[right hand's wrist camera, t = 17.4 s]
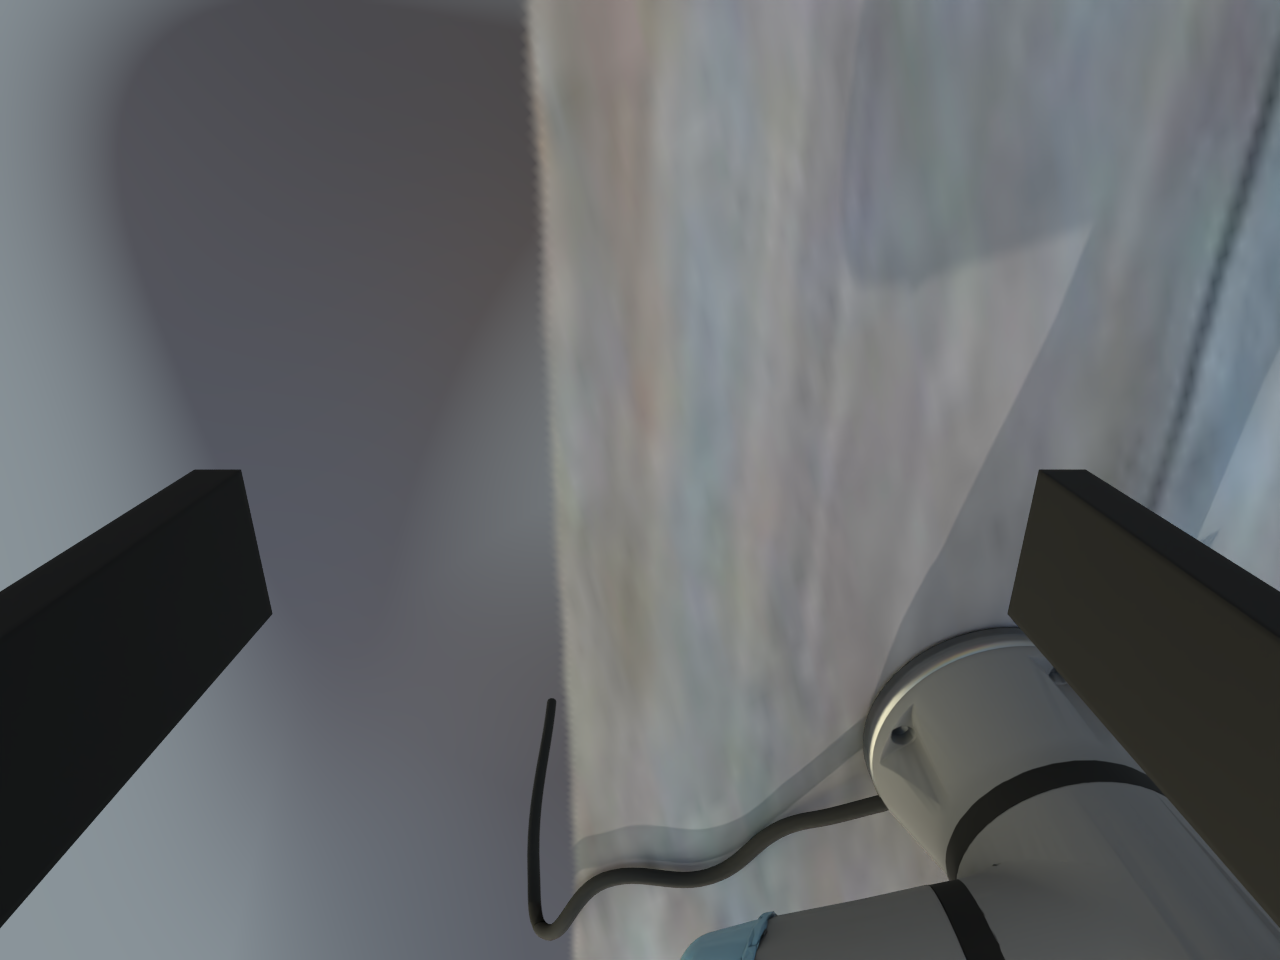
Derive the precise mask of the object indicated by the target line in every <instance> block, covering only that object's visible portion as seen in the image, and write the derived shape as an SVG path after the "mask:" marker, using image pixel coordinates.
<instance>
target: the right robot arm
mask: <svg viewBox="0 0 1280 960" xmlns="http://www.w3.org/2000/svg"><path fill="white" fill-rule="evenodd" d="M271 615H272V610H271V605H270V601H269V596H268V591H267V587H266V582H265V578H264V573H263V568H262V564H261V559H260V555H259V550H258V545H257V541H256V536H255V532H254V527H253V523H252V518H251V513H250V509H249V504H248V500H247V495H246V490H245V486H244V481H243V477H242V472H241V470H193V471H192V472H190V473H188V474H187V475H185V476H184V477H182V478H181V479H179V480H177V481H176V482H174V483H173V484H171V485H169V486H168V487H166V488H164V489H163V490H161V491H160V492H158V493H157V494H155V495H153V496H152V497H150V498H149V499H147V500H145V501H144V502H142V503H141V504H139V505H137V506H136V507H134V508H133V509H131V510H130V511H128V512H126V513H125V514H123V515H122V516H120V517H118V518H117V519H115V520H114V521H112V522H110V523H109V524H107V525H106V526H104V527H102V528H101V529H99V530H98V531H96V532H95V533H93V534H91V535H90V536H88V537H87V538H85V539H83V540H82V541H80V542H79V543H77V544H75V545H74V546H72V547H71V548H69V549H68V550H66V551H64V552H63V553H61V554H60V555H58V556H56V557H55V558H53V559H52V560H50V561H48V562H47V563H45V564H44V565H42V566H40V567H39V568H37V569H36V570H34V571H32V572H31V573H29V574H28V575H26V576H25V577H23V578H21V579H20V580H18V581H17V582H15V583H13V584H12V585H10V586H9V587H7V588H6V589H4V590H2V591H1V592H0V928H1V927H2V925H3V924H4V923H5V922H6V921H7V920H8V919H9V917H10V916H11V915H12V914H13V913H14V912H15V910H16V909H17V908H18V907H19V906H20V905H21V904H22V902H23V901H24V900H25V899H26V898H27V897H28V895H29V894H30V893H31V892H32V891H33V890H34V889H35V887H36V886H37V885H38V884H39V883H40V882H41V880H42V879H43V878H44V877H45V876H46V875H47V874H48V872H49V871H50V870H51V869H52V868H53V867H54V865H55V864H56V863H57V862H58V861H59V860H60V859H61V857H62V856H63V855H64V854H65V853H66V852H67V850H68V849H69V848H70V847H71V846H72V845H73V844H74V842H75V841H76V840H77V839H78V838H79V837H80V835H81V834H82V833H83V832H84V831H85V830H86V829H87V827H88V826H89V825H90V824H91V823H92V822H93V820H94V819H95V818H96V817H97V816H98V815H99V814H100V812H101V811H102V810H103V809H104V808H105V807H106V805H107V804H108V803H109V802H110V801H111V800H112V798H113V797H114V796H115V795H116V794H117V793H118V792H119V790H120V789H121V788H122V787H123V786H124V785H125V783H126V782H127V781H128V780H129V779H130V778H131V777H132V775H133V774H134V773H135V772H136V771H137V770H138V768H139V767H140V766H141V765H142V764H143V763H144V762H145V760H146V759H147V758H148V757H149V756H150V755H151V753H152V752H153V751H154V750H155V749H156V748H157V746H158V745H159V744H160V743H161V742H162V741H163V740H164V738H165V737H166V736H167V735H168V734H169V733H170V732H171V730H172V729H173V728H174V727H175V726H176V725H177V723H178V722H179V721H180V720H181V719H182V718H183V717H184V715H185V714H186V713H187V712H188V711H189V710H190V708H191V707H192V706H193V705H194V704H195V703H196V702H197V700H198V699H199V698H200V697H201V696H202V695H203V693H204V692H205V691H206V690H207V689H208V688H209V687H210V685H211V684H212V683H213V682H214V681H215V680H216V678H217V677H218V676H219V675H220V674H221V673H222V672H223V670H224V669H225V668H226V667H227V666H228V665H229V663H230V662H231V661H232V660H233V659H234V658H235V656H236V655H237V654H238V653H239V652H240V651H241V650H242V648H243V647H244V646H245V645H246V644H247V643H248V641H249V640H250V639H251V638H252V637H253V636H254V635H255V633H256V632H257V631H258V630H259V629H260V628H261V627H262V625H263V624H264V623H265V622H266V621H267V620H268V618H269V617H270V616H271ZM1008 615H1009V616H1010V617H1011V618H1012V620H1013V621H1014V622H1015V623H1016V624H1017V625H1018V627H1019V628H996V629H987V630H982V631H977V632H972V633H968V634H965V635H961V636H958V637H955V638H953V639H950V640H947V641H945V642H943V643H941V644H938V645H936V646H934V647H932V648H931V649H929V650H927V651H925V652H923V653H922V654H920V655H919V656H917V657H916V658H914V659H913V660H911V661H910V662H909V663H908V664H906V665H905V666H904V667H903V668H902V669H900V670H899V671H898V672H897V673H896V674H895V675H894V676H893V677H892V678H891V679H890V681H889V682H888V683H887V684H886V685H885V686H884V688H883V689H882V691H881V692H880V693H879V695H878V696H877V698H876V700H875V701H874V703H873V705H872V707H871V710H870V712H869V714H868V717H867V720H866V724H865V729H864V735H863V752H864V758H865V762H866V765H867V768H868V771H869V773H870V776H871V778H872V781H873V784H874V786H875V789H876V791H877V793H878V795H877V796H873V797H869V798H866V799H862V800H858V801H854V802H851V803H847V804H843V805H839V806H835V807H832V808H827V809H823V810H817V811H812V812H806V813H801V814H797V815H793V816H790V817H787V818H784V819H782V820H779V821H777V822H775V823H773V824H771V825H770V826H768V827H766V828H765V829H763V830H762V831H760V832H759V833H758V834H757V835H755V836H754V837H753V838H752V839H751V840H750V841H748V842H747V843H746V844H745V845H744V846H743V847H742V848H741V849H740V850H738V851H737V852H736V853H735V854H734V855H733V856H731V857H730V858H728V859H727V860H725V861H724V862H722V863H720V864H718V865H716V866H713V867H711V868H708V869H704V870H700V871H692V872H674V871H664V870H656V869H647V868H620V869H614V870H610V871H607V872H603V873H601V874H599V875H597V876H595V877H593V878H591V879H590V880H589V881H587V882H586V883H585V884H584V885H583V886H582V887H580V888H579V890H578V891H577V892H576V893H575V894H574V895H573V897H572V898H571V899H570V901H569V902H568V904H567V905H566V907H565V908H564V910H563V911H562V913H561V914H560V915H559V917H558V918H557V919H556V921H555V922H554V923H552V924H548V923H546V921H545V920H544V918H543V914H542V906H541V885H540V856H539V848H540V820H541V808H542V799H543V791H544V784H545V777H546V770H547V764H548V758H549V752H550V746H551V739H552V733H553V726H554V719H555V711H556V700H555V699H554V698H550V699H548V701H547V706H546V714H545V721H544V727H543V733H542V739H541V744H540V750H539V756H538V761H537V766H536V772H535V778H534V784H533V790H532V798H531V805H530V814H529V826H528V845H527V876H528V911H529V917H530V922H531V924H532V927H533V930H534V931H535V933H536V934H537V935H538V936H539V937H540V938H542V939H545V940H549V941H551V940H555V939H557V938H559V937H560V936H562V935H563V934H564V933H565V932H566V931H567V929H568V928H569V927H570V925H571V924H572V922H573V921H574V919H575V918H576V916H577V915H578V914H579V912H580V911H581V909H582V908H583V907H584V906H585V904H586V903H587V902H588V901H589V900H590V899H591V898H592V897H593V896H594V895H596V894H597V893H598V892H600V891H602V890H604V889H606V888H609V887H612V886H616V885H622V884H646V885H655V886H663V887H673V888H694V887H702V886H706V885H710V884H714V883H716V882H719V881H722V880H724V879H726V878H728V877H730V876H732V875H733V874H735V873H737V872H738V871H739V870H741V869H742V868H743V867H745V866H746V865H747V864H748V863H749V862H750V861H752V860H753V859H754V858H755V857H756V856H757V855H758V854H759V853H761V852H762V851H763V850H764V849H765V848H766V847H768V846H769V845H771V844H772V843H773V842H775V841H777V840H778V839H780V838H782V837H784V836H786V835H789V834H791V833H794V832H797V831H801V830H805V829H810V828H816V827H822V826H827V825H832V824H837V823H841V822H845V821H849V820H853V819H857V818H860V817H864V816H868V815H872V814H876V813H880V812H884V811H887V810H889V811H890V812H891V814H892V815H893V816H894V817H895V818H896V819H897V820H898V821H899V823H900V824H901V825H902V826H903V827H904V828H905V829H906V830H907V831H908V832H909V834H910V835H911V836H912V837H913V838H914V839H915V840H916V841H917V842H918V844H919V845H920V846H921V847H922V848H923V849H924V850H925V851H926V852H927V854H928V855H929V856H930V857H931V858H932V859H933V860H934V861H935V862H936V864H937V865H938V866H939V867H940V868H941V869H942V870H943V871H944V872H945V873H946V875H947V877H948V879H949V881H947V882H942V883H937V884H932V885H924V886H919V887H915V888H910V889H906V890H901V891H897V892H892V893H887V894H883V895H878V896H874V897H869V898H865V899H860V900H855V901H850V902H845V903H840V904H835V905H830V906H824V907H819V908H814V909H809V910H804V911H799V912H794V913H789V914H784V915H779V916H777V915H776V914H775V912H774V911H773V912H766V913H763V914H762V915H761V916H760V917H759V919H758V920H754V921H750V922H747V923H743V924H739V925H736V926H732V927H728V928H725V929H721V930H717V931H714V932H710V933H707V934H705V935H702V936H701V937H699V938H697V939H696V940H695V941H694V942H693V943H692V944H691V945H690V946H689V947H688V948H687V950H686V951H685V953H684V954H683V956H682V957H681V959H680V960H1280V592H1279V591H1278V590H1276V589H1275V588H1273V587H1271V586H1270V585H1268V584H1267V583H1265V582H1263V581H1262V580H1260V579H1259V578H1257V577H1255V576H1254V575H1252V574H1251V573H1249V572H1248V571H1246V570H1244V569H1243V568H1241V567H1240V566H1238V565H1236V564H1235V563H1233V562H1232V561H1230V560H1228V559H1227V558H1225V557H1224V556H1222V555H1220V554H1219V553H1217V552H1216V551H1214V550H1213V549H1211V548H1209V547H1208V546H1206V545H1205V544H1203V543H1201V542H1200V541H1198V540H1197V539H1195V538H1193V537H1192V536H1190V535H1189V534H1187V533H1185V532H1184V531H1182V530H1181V529H1179V528H1178V527H1176V526H1174V525H1173V524H1171V523H1170V522H1168V521H1166V520H1165V519H1163V518H1162V517H1160V516H1158V515H1157V514H1155V513H1154V512H1152V511H1151V510H1149V509H1147V508H1146V507H1144V506H1143V505H1141V504H1139V503H1138V502H1136V501H1135V500H1133V499H1131V498H1130V497H1128V496H1127V495H1125V494H1123V493H1122V492H1120V491H1119V490H1117V489H1116V488H1114V487H1112V486H1111V485H1109V484H1108V483H1106V482H1104V481H1103V480H1101V479H1100V478H1098V477H1096V476H1095V475H1093V474H1092V473H1090V472H1088V471H1087V470H1039V472H1038V477H1037V481H1036V486H1035V490H1034V495H1033V500H1032V504H1031V509H1030V513H1029V518H1028V522H1027V527H1026V532H1025V536H1024V541H1023V545H1022V550H1021V555H1020V559H1019V564H1018V568H1017V573H1016V578H1015V582H1014V587H1013V591H1012V596H1011V601H1010V605H1009V610H1008Z"/></svg>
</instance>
